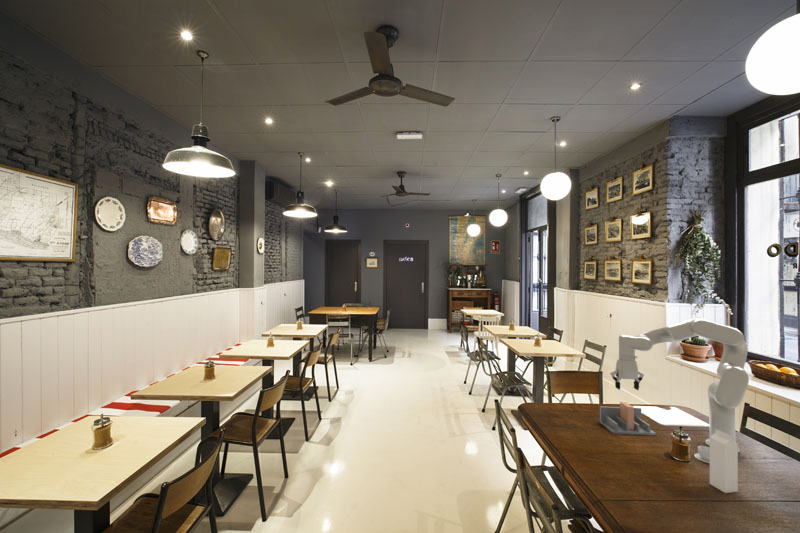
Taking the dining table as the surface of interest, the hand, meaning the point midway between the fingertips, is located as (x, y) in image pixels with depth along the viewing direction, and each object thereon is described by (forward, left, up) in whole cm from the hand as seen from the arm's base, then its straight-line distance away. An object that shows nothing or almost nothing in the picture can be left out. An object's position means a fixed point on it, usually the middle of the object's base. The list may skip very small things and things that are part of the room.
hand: (627, 388), depth 194 cm
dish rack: (0, 0, -22) cm, 22 cm away
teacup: (-30, -19, -22) cm, 42 cm away
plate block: (0, 0, -21) cm, 21 cm away
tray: (+21, -36, -23) cm, 47 cm away
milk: (-53, -8, -22) cm, 58 cm away
